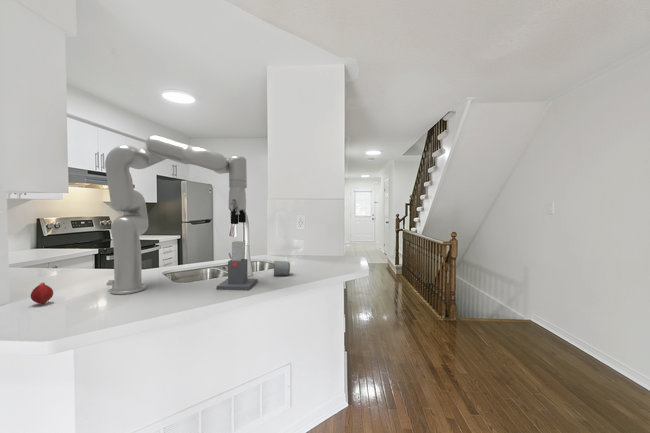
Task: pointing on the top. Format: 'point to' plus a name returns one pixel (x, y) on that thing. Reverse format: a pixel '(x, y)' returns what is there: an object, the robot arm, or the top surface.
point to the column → (238, 251)
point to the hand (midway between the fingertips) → (238, 223)
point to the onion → (42, 293)
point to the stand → (237, 277)
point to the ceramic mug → (281, 268)
